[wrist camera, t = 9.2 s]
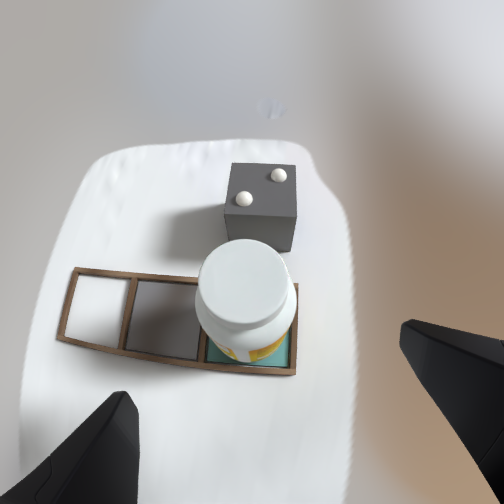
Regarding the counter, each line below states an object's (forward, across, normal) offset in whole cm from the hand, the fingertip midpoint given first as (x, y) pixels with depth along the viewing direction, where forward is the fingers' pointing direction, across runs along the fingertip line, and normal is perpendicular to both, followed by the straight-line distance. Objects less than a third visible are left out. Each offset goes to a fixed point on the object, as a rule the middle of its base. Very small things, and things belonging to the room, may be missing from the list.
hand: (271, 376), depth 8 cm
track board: (+14, +6, +4) cm, 15 cm away
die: (+18, -3, 0) cm, 18 cm away
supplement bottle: (+12, 0, +6) cm, 13 cm away
